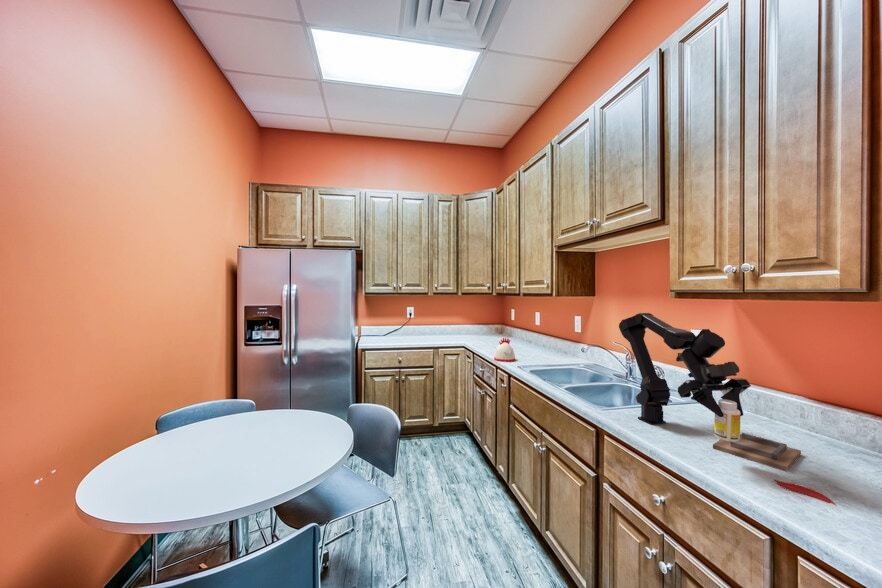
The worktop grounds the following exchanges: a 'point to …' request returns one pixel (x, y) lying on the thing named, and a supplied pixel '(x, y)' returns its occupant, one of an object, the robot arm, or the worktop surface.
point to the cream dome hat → (504, 352)
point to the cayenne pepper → (804, 491)
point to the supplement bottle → (727, 421)
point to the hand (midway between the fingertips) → (732, 416)
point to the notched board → (760, 451)
